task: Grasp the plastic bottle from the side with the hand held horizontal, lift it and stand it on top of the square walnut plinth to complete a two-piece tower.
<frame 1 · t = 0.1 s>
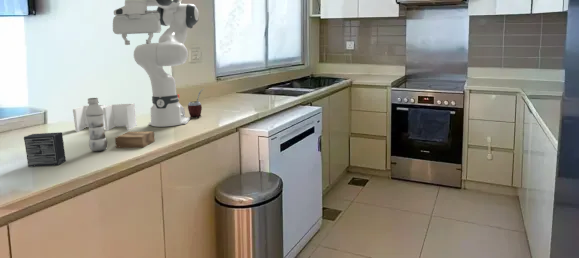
hand: (138, 44, 202), 39 cm above the worktop, tool pointing down, fingers open, 8 cm apart
small box: (47, 164, 165), on the worktop
mate gourd: (196, 117, 250), on the worktop
pair of white bookends: (107, 129, 227), on the worktop
plinth: (135, 144, 189), on the worktop
plastic bottle: (99, 151, 181), on the worktop
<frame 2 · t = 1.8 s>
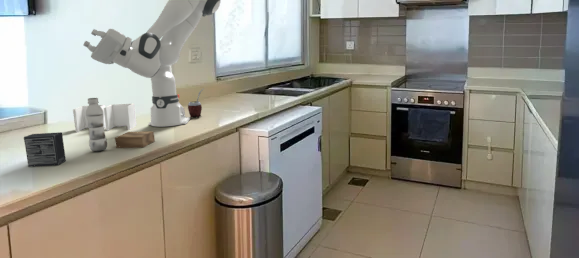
hand: (88, 37, 189), 43 cm above the worktop, tool pointing upward, fingers open, 8 cm apart
nothing on the worktop moved.
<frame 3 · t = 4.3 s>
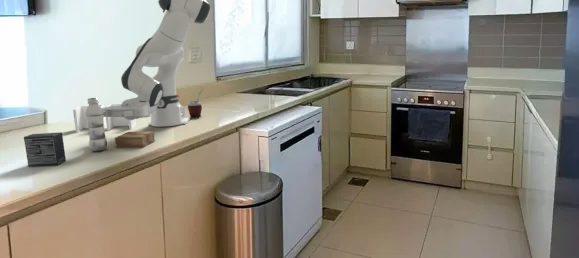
hand: (112, 114, 189), 12 cm above the worktop, tool horizontal, fingers open, 8 cm apart
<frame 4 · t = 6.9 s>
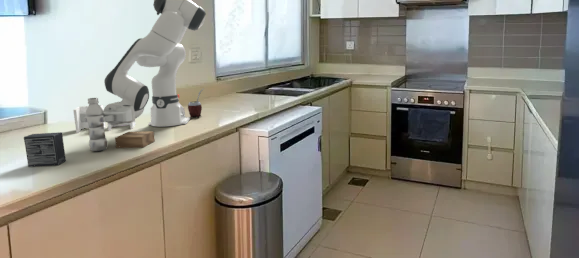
hand: (93, 119, 178), 12 cm above the worktop, tool horizontal, fingers closed on plastic bottle, 6 cm apart
plastic bottle: (99, 151, 181), on the worktop, touching gripper
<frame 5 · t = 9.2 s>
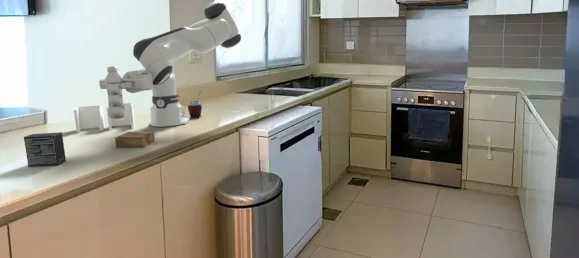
hand: (112, 85, 182), 24 cm above the worktop, tool horizontal, fingers closed on plastic bottle, 6 cm apart
plastic bottle: (117, 119, 185), point 11 cm above the worktop, touching gripper
when the fingers open (17 cm above the worktop, at t = 11.6 s): plastic bottle stays where it is, resting on plinth.
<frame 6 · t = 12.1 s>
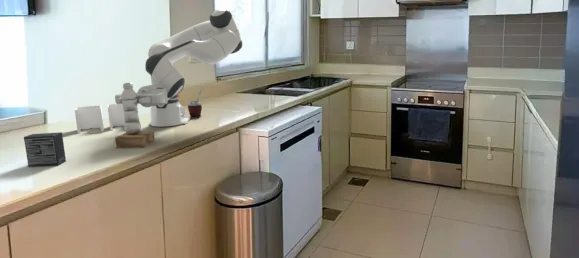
hand: (129, 101, 185), 17 cm above the worktop, tool horizontal, fingers open, 8 cm apart
plastic bottle: (133, 134, 189), point 4 cm above the worktop, touching plinth
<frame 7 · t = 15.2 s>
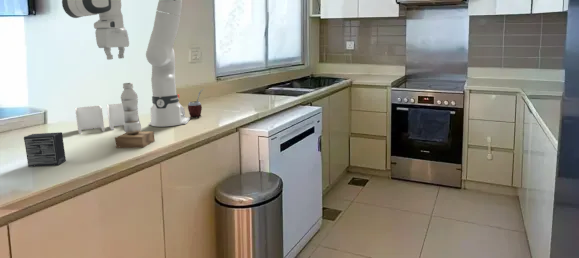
hand: (115, 59, 194), 33 cm above the worktop, tool pointing down, fingers open, 8 cm apart
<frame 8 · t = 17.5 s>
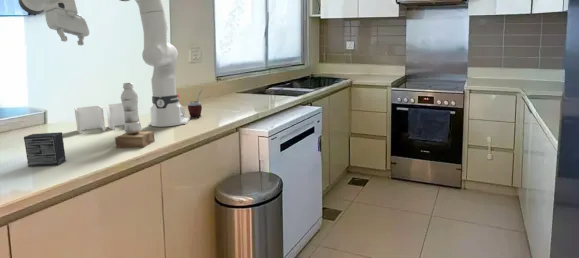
hand: (73, 43, 192), 40 cm above the worktop, tool tilted 20°, fingers open, 8 cm apart
at the end: plastic bottle inside the target area on the plinth (0.8 cm from its centre), point 4.1 cm above the plinth's base; plastic bottle tilted 0°; the gripper is holding nothing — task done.
